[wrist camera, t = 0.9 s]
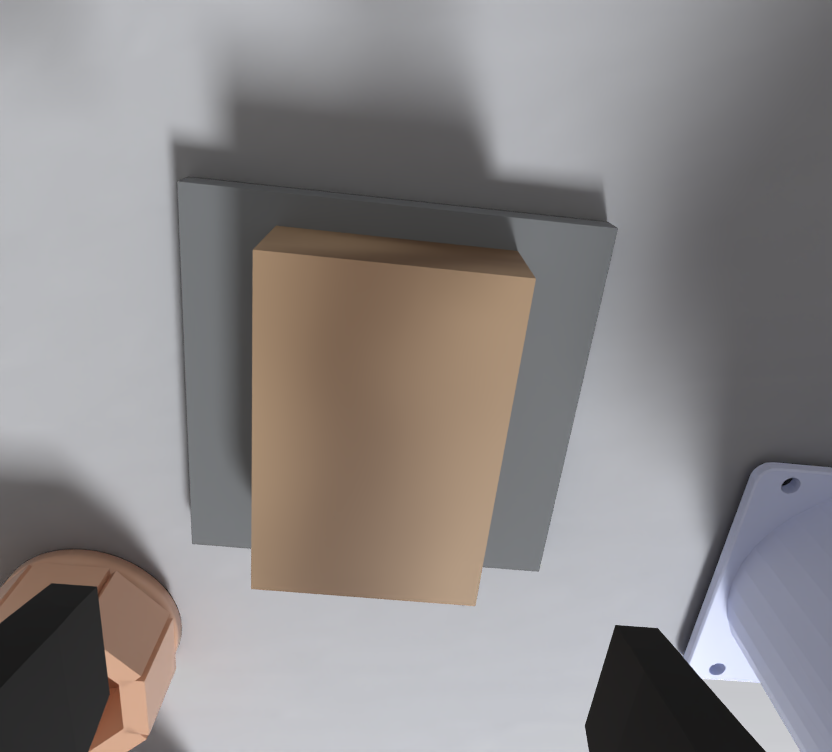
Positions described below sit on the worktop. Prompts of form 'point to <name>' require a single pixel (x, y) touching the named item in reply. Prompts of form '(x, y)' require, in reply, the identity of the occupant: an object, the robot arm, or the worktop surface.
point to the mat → (280, 206)
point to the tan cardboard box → (380, 411)
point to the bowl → (114, 634)
